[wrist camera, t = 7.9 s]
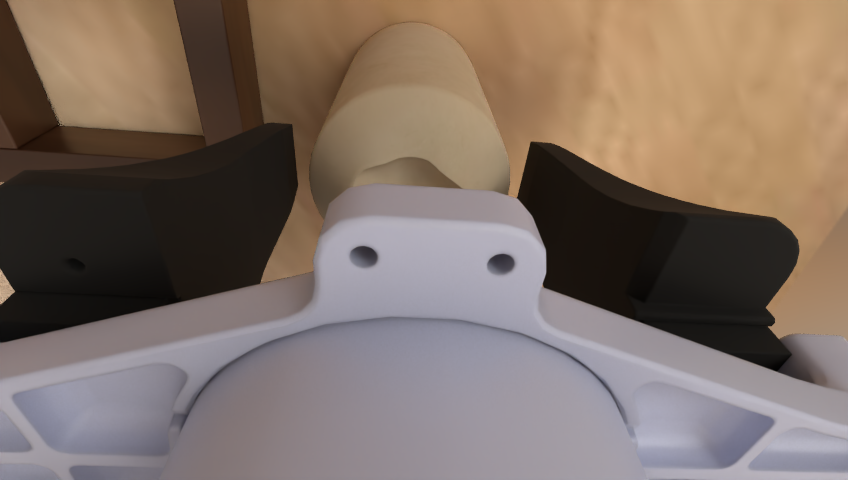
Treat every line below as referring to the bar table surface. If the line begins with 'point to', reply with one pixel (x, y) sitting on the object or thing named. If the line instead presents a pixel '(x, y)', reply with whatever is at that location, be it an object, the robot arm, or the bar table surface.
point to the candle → (409, 120)
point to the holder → (93, 148)
